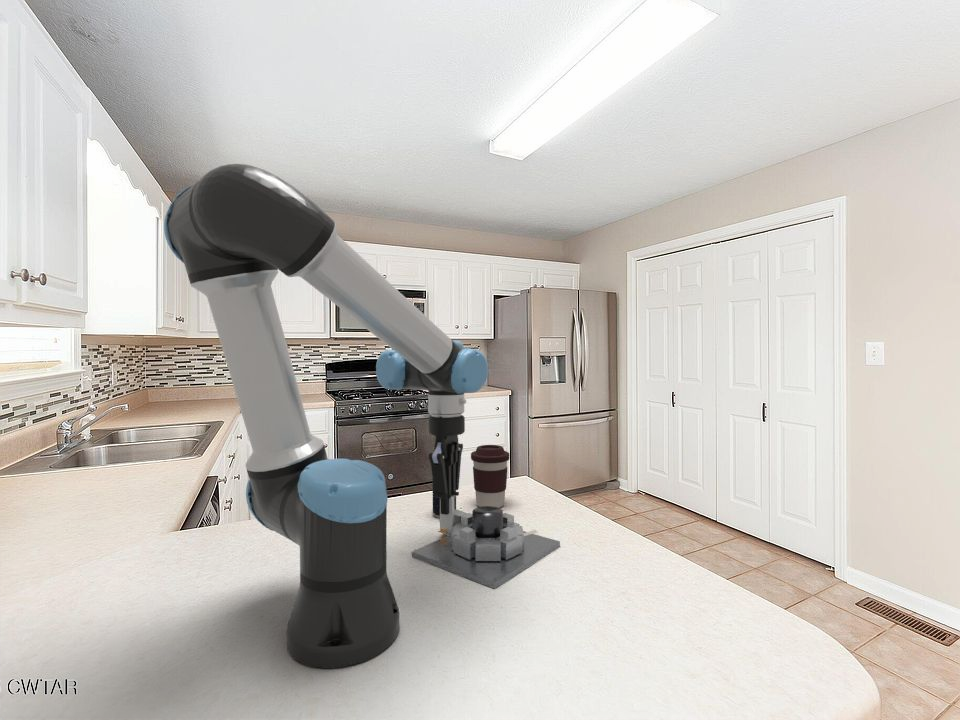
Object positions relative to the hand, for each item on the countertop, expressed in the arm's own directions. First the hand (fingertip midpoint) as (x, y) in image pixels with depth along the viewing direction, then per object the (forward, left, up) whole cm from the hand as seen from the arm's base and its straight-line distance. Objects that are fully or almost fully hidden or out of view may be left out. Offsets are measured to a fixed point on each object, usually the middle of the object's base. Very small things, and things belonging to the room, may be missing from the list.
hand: (447, 528), depth 98 cm
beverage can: (+11, +11, -3) cm, 16 cm away
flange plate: (+2, -8, -3) cm, 9 cm away
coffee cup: (+24, +7, -3) cm, 26 cm away
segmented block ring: (+2, -6, -2) cm, 7 cm away
